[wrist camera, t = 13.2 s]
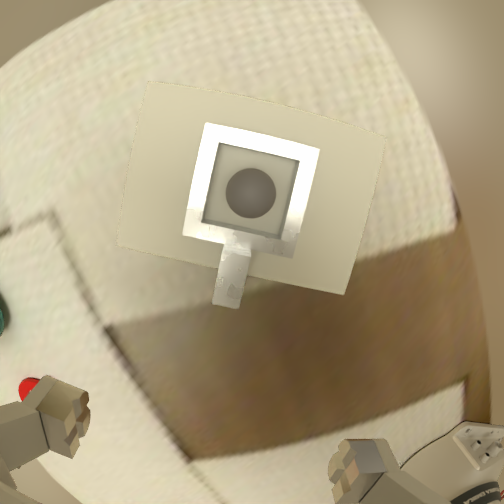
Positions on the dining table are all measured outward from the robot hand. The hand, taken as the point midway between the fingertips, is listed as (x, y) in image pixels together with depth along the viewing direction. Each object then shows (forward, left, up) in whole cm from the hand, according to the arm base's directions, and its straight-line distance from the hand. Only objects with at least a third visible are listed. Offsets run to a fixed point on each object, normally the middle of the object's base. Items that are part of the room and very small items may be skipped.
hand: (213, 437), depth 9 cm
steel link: (0, -4, -18) cm, 19 cm away
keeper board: (0, -6, -20) cm, 21 cm away
